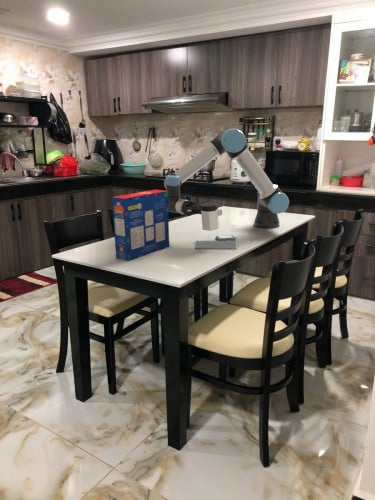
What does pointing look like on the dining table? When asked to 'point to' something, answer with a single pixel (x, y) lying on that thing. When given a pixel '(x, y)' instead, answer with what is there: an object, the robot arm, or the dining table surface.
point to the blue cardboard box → (140, 223)
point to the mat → (215, 245)
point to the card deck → (225, 238)
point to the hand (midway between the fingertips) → (220, 212)
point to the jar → (209, 216)
